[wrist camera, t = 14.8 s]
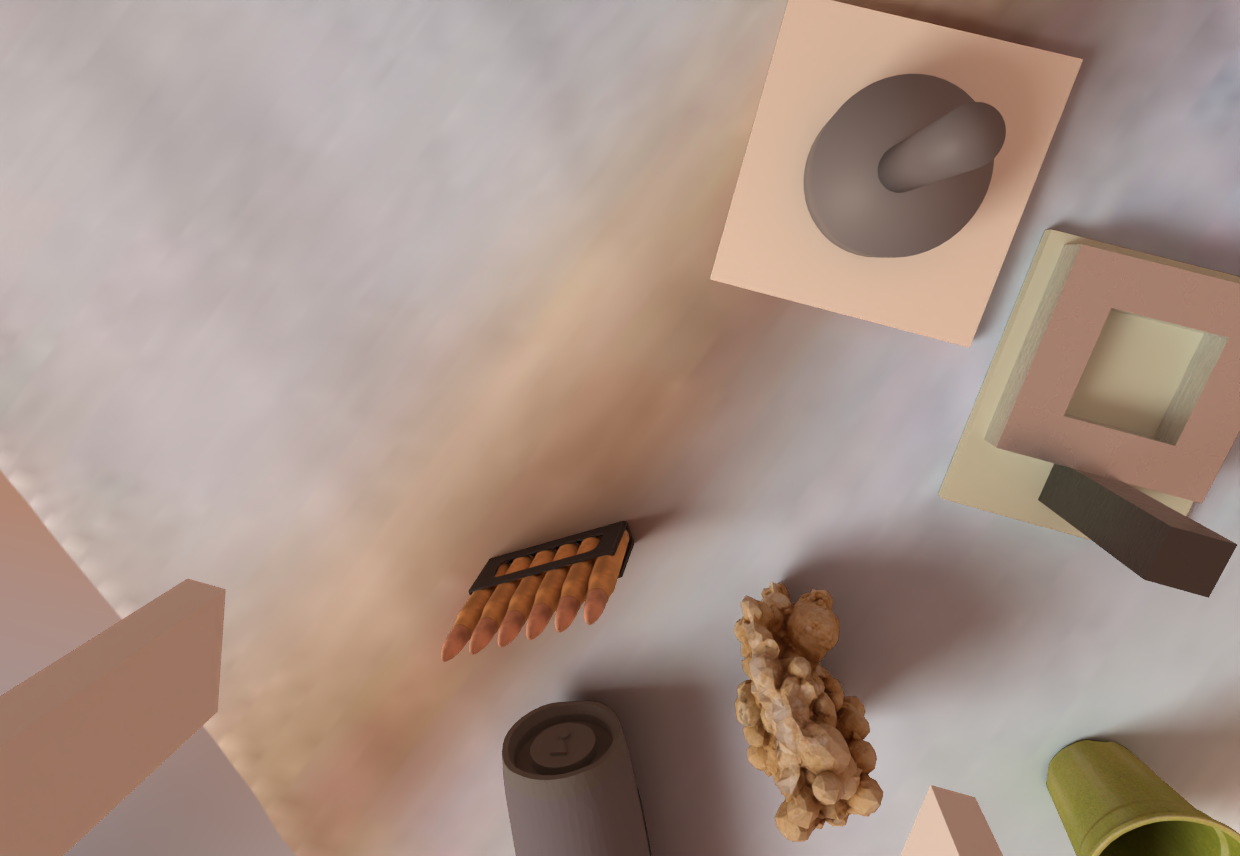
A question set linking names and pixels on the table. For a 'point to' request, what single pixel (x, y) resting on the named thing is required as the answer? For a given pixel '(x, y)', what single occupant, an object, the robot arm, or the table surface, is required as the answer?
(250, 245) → the table surface
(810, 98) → the stand
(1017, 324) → the mat
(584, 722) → the bluetooth speaker
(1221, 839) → the plant pot
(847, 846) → the table surface
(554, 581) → the ammunition clip
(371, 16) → the table surface
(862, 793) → the mineral formation
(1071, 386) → the pink square frame
